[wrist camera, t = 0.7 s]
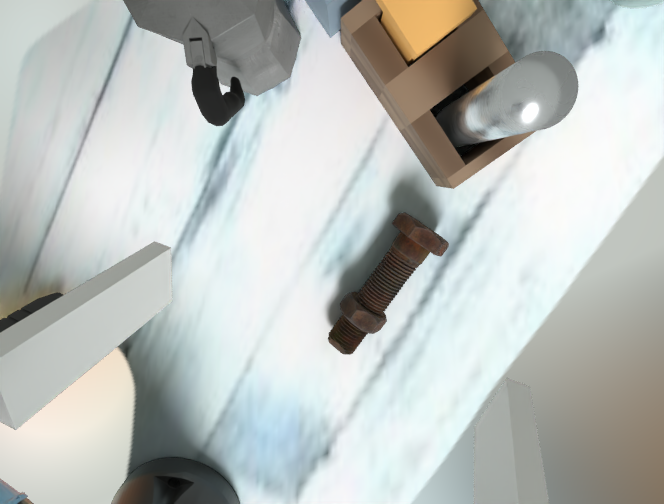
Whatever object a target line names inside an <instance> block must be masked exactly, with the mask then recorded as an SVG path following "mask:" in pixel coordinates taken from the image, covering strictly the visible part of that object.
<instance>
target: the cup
mask: <svg viewBox="0 0 664 504" xmlns="http://www.w3.org/2000/svg"><path fill="white" fill-rule="evenodd" d="M610 1H611V2H612V3H614V4H615V5H618V6H620V7H623V8H629V9H639V8H647V7H652V6H656V5H660V4H663V3H664V0H610Z"/></svg>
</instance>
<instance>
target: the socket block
mask: <svg viewBox="0 0 664 504" xmlns="http://www.w3.org/2000/svg"><path fill="white" fill-rule="evenodd" d="M473 2H474V4H475V5H476V7H477V9H476V11H475V12H474V13H473V14H472V15H471V16H470V17H469V18H468V19H466V20H465V21H464V22H462V23H461V24H460V25H459V26H457V27H456V28H455V29H453V30H452V31H451V32H450V33H448V34H447V35H446V36H445V37H444V38H443V39H442V41H440V42H439V43H438V44H436V45H435V47H434V48H433V49H432V50H430V51H429V52H428V53H426V54H425V55H424V56H422V57H421V58H420V59H419V60H417V61H416V62H415V63H413V64H412V65H411V66H410V67H408V66H407V64H406V63H405V61H404V60H403V58H402V57H401V55H400V53H399V52H398V50H397V49H396V47H395V46H394V44H393V43H392V41H391V40H390V38H389V36H388V35H387V33H386V32H385V30H384V29H383V27H382V26H381V24H380V23H381V19H382V14H383V11H382V10H381V8H380V7H379V5H378V3H377V2H376V0H362V1H361V2H360V3H358V4H357V5H356V6H355V7H354V8H352V9H351V10H350V11H349V12H347V13H346V14H345V15H344V16H343V17H341V44H342V46H343V47H344V49H345V50H346V52H347V53H348V55H349V56H350V58H351V59H352V61H353V62H354V64H355V65H356V67H357V68H358V70H359V71H360V73H361V74H362V76H363V77H364V79H365V80H366V82H367V83H368V85H369V86H370V88H371V89H372V91H373V92H374V94H375V95H376V96H377V98H378V99H379V101H380V102H381V104H382V105H383V107H384V108H385V110H386V111H387V113H388V114H389V116H390V117H391V119H392V120H393V122H394V123H395V125H396V126H397V128H398V129H399V131H400V132H401V134H402V135H403V137H404V138H405V140H406V141H407V143H408V144H409V146H410V147H411V149H412V150H413V152H414V153H415V155H416V156H417V158H418V159H419V161H420V162H421V164H422V165H423V167H424V168H425V170H426V171H427V173H428V174H429V176H430V177H431V178H432V180H433V181H434V183H435V184H436V186H440V187H447V188H453V189H454V188H455V187H457V186H458V185H460V184H461V183H462V182H464V181H465V180H467V179H468V178H470V177H471V176H472V175H474V174H475V173H477V172H478V171H480V170H481V169H482V168H484V167H485V166H487V165H488V164H490V163H491V162H492V161H494V160H495V159H497V158H498V157H500V156H501V155H502V154H504V153H505V152H507V151H508V150H510V149H511V148H512V147H514V146H515V145H517V144H518V143H520V142H521V141H522V140H524V139H525V138H527V137H528V136H530V135H531V134H532V133H534V132H535V131H532V132H527V133H523V134H518V135H513V136H508V137H504V138H499V139H494V140H489V141H485V142H480V143H479V144H477V145H476V146H474V147H473V148H472V149H470V150H469V151H467V152H466V153H465V154H463V155H462V156H459V154H458V153H457V151H456V150H455V148H454V146H453V145H452V143H451V142H450V140H449V139H448V137H447V136H446V134H445V133H444V131H443V130H442V128H441V126H440V125H439V123H438V122H437V120H436V119H435V117H434V116H433V114H432V113H431V111H430V109H431V108H432V107H434V106H435V105H436V104H438V103H439V102H440V101H442V100H443V99H444V98H446V97H447V96H448V95H450V94H451V93H452V92H454V91H455V90H457V89H458V88H459V87H461V86H462V85H463V84H465V86H466V87H467V89H468V90H469V92H470V91H471V90H473V89H475V88H476V87H478V86H479V85H481V84H482V83H484V82H486V81H487V80H489V79H490V78H492V77H494V76H495V75H497V74H498V73H500V72H501V71H503V70H505V69H506V68H508V67H509V66H511V65H512V64H514V63H515V61H514V59H513V58H512V56H511V54H510V53H509V51H508V49H507V48H506V46H505V44H504V43H503V41H502V39H501V38H500V36H499V34H498V33H497V31H496V29H495V28H494V26H493V24H492V22H491V21H490V19H489V17H488V16H487V14H486V12H485V11H484V9H483V7H482V6H481V4H480V2H479V1H478V0H473Z"/></svg>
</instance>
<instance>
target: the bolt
mask: <svg viewBox="0 0 664 504" xmlns="http://www.w3.org/2000/svg"><path fill="white" fill-rule="evenodd" d="M392 224H393V225H394V226H395V227H397V228H398V229H399V230H400V231H401V232H400V233H399V235H398V236H397V238H396V239H395V240H394V242H393V243H392V246H391V249H389V251H390V252H387V254H388V255H385V257H386V258H385V257H384V258H383V260H381V263H379V265H378V266H377V268H375V271H373V273H374V274H371V276H370V277H369V278H370V279H368V280H367V282H366V284H364V287H362V289H361V290H360V292H358V293H357V292H351V293H349V294H347V295H346V296H345V297H344V299H343V300H342V301H341V303H340V307H341V311H342V313H343V315H342V316H341V317H340V319H339V320H338V322H337V323H336V325H334V327H333V328H332V330H331V332H329V337H328V340H329V343H331V344H332V345H333V346H334V347H335V348H336V349H337V350H338V351H340V352H341V353H342V354H352V353H353V352H354V351H355V349H356V348H357V347H358V345H359V344H360V343H361V342H362V339H364V337H365V336H366V334H368V333H371V334H374V333H376V332H378V331H379V330H380V329H381V328H382V327H383V325H384V324H385V323H386V321H387V320H386V315H385V313H384V312H383V311H385V309H386V308H387V306H389V303H391V301H392V300H393V298H395V295H397V293H398V292H399V290H401V287H403V284H405V282H406V281H407V279H409V276H411V274H413V271H415V270H416V269H415V268H417V267H418V266H419V265H420V264H422V262H423V261H424V260H425V258H426V257H427V256H428V254H429V253H430V252H431V253H433V254H434V255H437V256H442V255H443V253H444V252H445V251H446V250H447V248H448V246H449V243H448V242H447V241H446V240H445V239H443V238H442V237H441V236H439V235H438V234H437V233H435V232H434V231H432V230H431V229H429V228H428V227H426V226H425V225H423V224H422V223H421V222H419V221H418V220H416V219H415V218H413V217H412V216H410V215H408V214H407V213H405V212H403V213H400V214H398V215H397V217H396V218H395V220H394V221H393V222H392Z"/></svg>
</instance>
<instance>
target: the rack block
mask: <svg viewBox="0 0 664 504" xmlns="http://www.w3.org/2000/svg"><path fill="white" fill-rule="evenodd" d="M305 1H306V2H307V4H308V5H309V7H310V8H311V10H312V11H313V13H314V14H315V16H316V17H317V19H318V20H319V22H320V23H321V25H322V26H323V28H324V29H325V31H326V32H327V34H328V35H329V37H330V38H331V37H332V36H333V35H335V34H336V33H337V32H338V31H339V30H341V17H343V16H344V15H345V14H346V13H347V12H349V11H350V10H351V9H352V8H354V7H355V6H356V5H357V4H358V3H360V2H361V1H362V0H305Z"/></svg>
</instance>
